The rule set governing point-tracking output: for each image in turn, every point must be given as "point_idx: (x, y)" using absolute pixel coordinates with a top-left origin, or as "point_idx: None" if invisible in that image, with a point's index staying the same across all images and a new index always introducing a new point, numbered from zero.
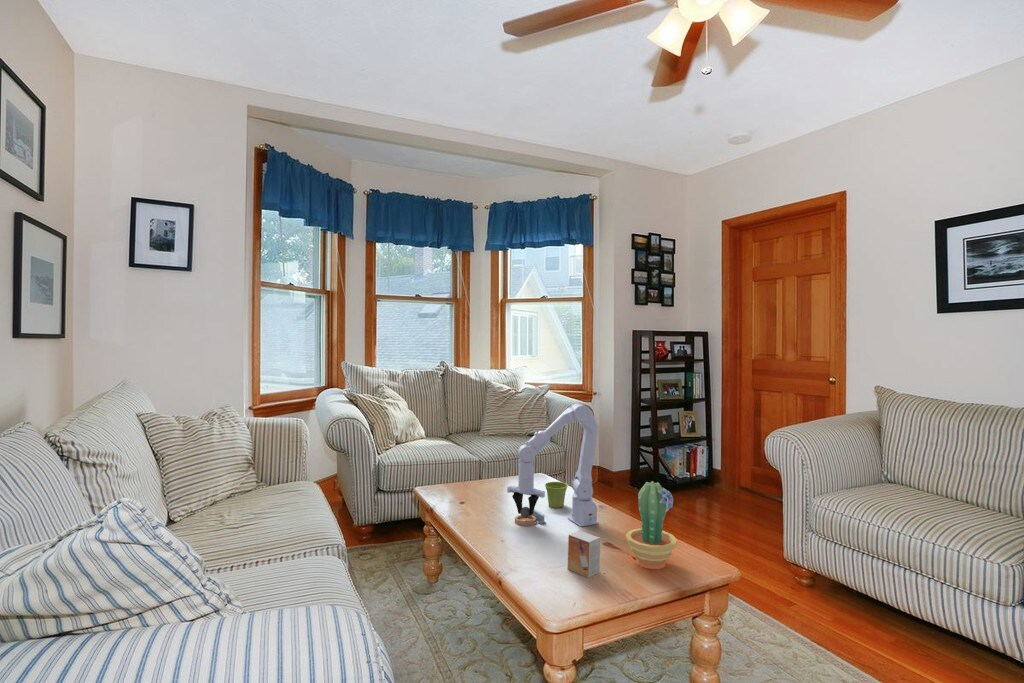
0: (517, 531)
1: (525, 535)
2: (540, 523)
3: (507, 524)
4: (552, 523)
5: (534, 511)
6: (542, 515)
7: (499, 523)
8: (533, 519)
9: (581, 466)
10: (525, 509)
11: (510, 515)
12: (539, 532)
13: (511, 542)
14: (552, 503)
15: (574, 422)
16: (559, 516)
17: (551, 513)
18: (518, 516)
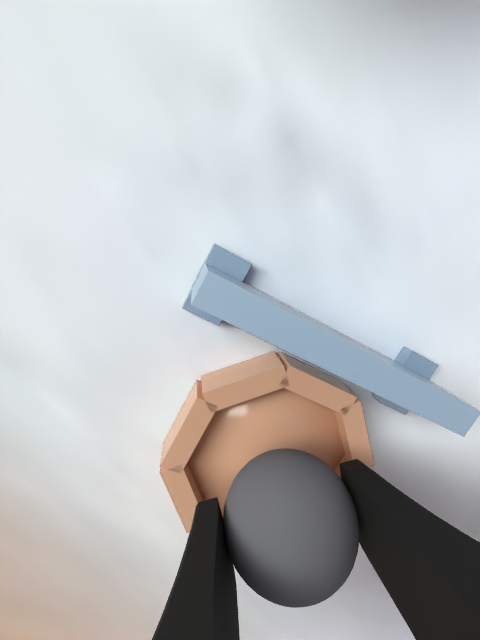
0: (320, 606)
1: (399, 613)
2: (403, 410)
3: (176, 572)
4: (475, 321)
5: (317, 365)
6: (461, 421)
7: (108, 599)
8: (351, 444)
9: None
10: (328, 597)
11: (27, 407)
12: (456, 525)
13: None
14: None
15: None
16: (470, 92)
17: (355, 47)
18: (184, 479)
